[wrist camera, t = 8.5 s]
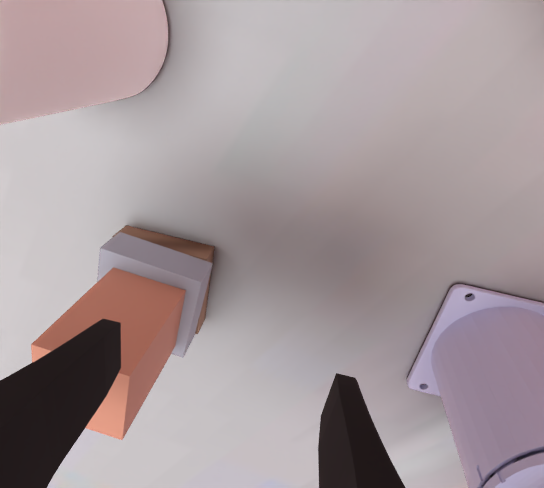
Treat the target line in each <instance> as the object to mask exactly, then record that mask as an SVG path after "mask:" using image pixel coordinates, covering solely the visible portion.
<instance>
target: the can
mask: <svg viewBox="0 0 544 488" xmlns="http://www.w3.org/2000/svg"><path fill="white" fill-rule="evenodd" d="M167 46H168V23H167V17H166V12H165V8H164V5H163V2H162V0H0V125H1V124H6V123H11V122H16V121H21V120H26V119H31V118H35V117H40V116H45V115H50V114H55V113H59V112H64V111H69V110H74V109H78V108H83V107H88V106H93V105H97V104H102V103H106V102H111V101H116V100H120V99H124V98H128V97H131V96H134V95H136V94H138V93H140V92H141V91H143V90H144V89H145V88H146V87H148V86H149V85H150V83H151V82H152V81H153V80H154V78H155V77H156V76H157V74H158V73H159V71H160V69H161V67H162V65H163V63H164V60H165V56H166V52H167Z"/></svg>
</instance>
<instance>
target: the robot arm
mask: <svg viewBox="0 0 544 488" xmlns="http://www.w3.org/2000/svg"><path fill="white" fill-rule="evenodd" d="M469 293H472V295H471V296H470V297H465V295H466V294H469ZM120 369H121V323H120V322H116V321H112V320H107V319H101V320H100V321H98V322H96V323H95V324H93V325H92V326H90V327H89V328H87V329H86V330H84V331H82V332H81V333H79V334H78V335H76V336H75V337H73V338H72V339H70V340H68V341H67V342H65V343H64V344H62V345H61V346H59V347H57V348H56V349H54V350H53V351H51V352H49V353H48V354H46V355H44V356H43V357H41V358H40V359H38V360H36V361H35V362H33V363H31V364H29V365H27V366H26V367H24V368H22V369H20V370H19V371H17V372H15V373H13V374H12V375H10V376H8V377H6V378H4V379H2V380H1V381H0V488H47V486H48V484H49V482H50V481H51V479H52V477H53V475H54V474H55V472H56V470H57V469H58V467H59V466H60V464H61V463H62V461H63V459H64V458H65V457H66V455H67V454H68V452H69V451H70V449H71V448H72V446H73V445H74V443H75V442H76V440H77V439H78V437H79V436H80V435H81V433H82V432H83V430H84V429H85V427H86V426H87V424H88V423H89V421H90V420H91V418H92V417H93V415H94V414H95V413H96V411H97V410H98V408H99V407H100V405H101V404H102V402H103V401H104V399H105V398H106V396H107V394H108V392H109V390H110V388H111V387H112V385H113V383H114V381H115V379H116V377H117V375H118V373H119V371H120ZM421 384H424V385H421ZM407 385H408V387H409V388H410V389H413V390H417V391H421V392H425V393H429V394H433V395H437V396H441V399H442V402H443V405H444V408H445V412H446V415H447V418H448V421H449V425H450V428H451V431H452V435H453V438H454V441H455V444H456V448H457V451H458V454H459V457H460V461H461V464H462V467H463V470H464V474H465V477H466V480H467V484H468V487H469V488H544V303H541V302H537V301H533V300H528V299H524V298H520V297H515V296H511V295H507V294H502V293H498V292H494V291H489V290H485V289H481V288H476V287H472V286H468V285H464V284H457V285H454V286H453V287H451V289H450V290H449V292H448V295H447V297H446V299H445V301H444V303H443V305H442V307H441V309H440V311H439V313H438V315H437V317H436V320H435V322H434V324H433V326H432V328H431V330H430V332H429V334H428V336H427V338H426V340H425V342H424V345H423V347H422V349H421V351H420V353H419V355H418V357H417V359H416V361H415V363H414V365H413V367H412V369H411V372H410V374H409V376H408V378H407ZM318 454H319V488H405V486H404V484H403V482H402V481H401V479H400V477H399V475H398V473H397V471H396V469H395V467H394V466H393V464H392V462H391V460H390V458H389V456H388V454H387V452H386V450H385V448H384V445H383V443H382V441H381V439H380V437H379V434H378V432H377V430H376V428H375V426H374V423H373V421H372V419H371V416H370V414H369V411H368V409H367V406H366V404H365V401H364V399H363V396H362V393H361V391H360V388H359V385H358V382H357V380H356V379H355V378H354V377H349V376H345V375H341V374H337V373H336V375H335V378H334V381H333V384H332V387H331V389H330V392H329V395H328V398H327V401H326V403H325V406H324V409H323V412H322V415H321V422H320V433H319V447H318Z"/></svg>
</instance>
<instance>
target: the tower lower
mask: <svg viewBox="0 0 544 488" xmlns="http://www.w3.org/2000/svg"><path fill="white" fill-rule="evenodd" d="M119 232H122V233H125V234H128V235H131V236H134V237H137V238H140V239H142V240H145V241H148V242H151V243H154V244H157V245H160V246H163V247H166V248H169V249H172V250H175V251H178V252H181V253H184V254H187V255H190V256H193V257H196V258H199V259H202V260H205V261H208V262H211V263H212V262H213V255H214V246H210V245H206V244H202V243H197V242H193V241H189V240H185V239H181V238H177V237H172V236H168V235H164V234H160V233H156V232H152V231H147V230H143V229H139V228H135V227H131V226H127V225H126V226H125V227H124V228H122V229H121V230H120V231H119ZM119 232H117V233H116V234H118V233H119ZM116 234H115V235H116ZM115 235H114V236H115ZM114 236H113V237H114ZM211 270H212V269H211ZM210 278H211V273H210V277H209V281H208V285H207V289H206V293H205V297H204V300H203V304H202V308H201V312H200V316H199V320H198V324H197V328H196V332H195V334H198V332H199V330H200V328H201V326H202V324H203V322H204V320H205V315H206V308H207V300H208V293H209V285H210Z"/></svg>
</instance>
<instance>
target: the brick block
mask: <svg viewBox="0 0 544 488" xmlns="http://www.w3.org/2000/svg"><path fill="white" fill-rule="evenodd" d="M185 293H186V290H183V289H180V288H177V287H173V286H170V285H167V284H164V283H161V282H158V281H155V280H152V279H148V278H145V277H142V276H139V275H136V274H133V273H130V272H126V271H123V270H120V269H117V268H114V267H113V268H112V269H111V270H110V271H109V272H108V273H107V274H106V275H105V276H104V277H103V278H101V279H100V280H99V281H98V282H97V283H96V284H95V285H94V286H93V287H92V288H91V289H90V290H89V291H88V292H87V293H85V294H84V295H83V296H82V297H81V298H80V299H79V300H78V301H77V302H76V303H75V304H74V305H73V306H72V307H71V308H70V309H68V310H67V311H66V312H65V313H64V314H63V315H62V316H61V317H60V318H59V319H58V320H57V321H56V322H55V323H54V324H52V325H51V326H50V327H49V328H48V329H47V330H46V331H45V332H44V333H43V334H42V335H41V336H40V337H39V338H38V339H37V340H35V341H34V342H33V343H32V344H31V349H32V363H33V362H35V361H36V360H38V359H40V358H41V357H43V356H44V355H46V354H48V353H49V352H51V351H53V350H54V349H56V348H57V347H59V346H61V345H62V344H64V343H65V342H67V341H68V340H70V339H72V338H73V337H75V336H76V335H78V334H79V333H81V332H82V331H84V330H86V329H87V328H89V327H90V326H92V325H93V324H95V323H96V322H98V321H100V320H101V319H107V320H112V321H116V322H120V323H121V369H120V371H119V373H118V375H117V377H116V379H115V381H114V383H113V385H112V387H111V388H110V390H109V392H108V394H107V396H106V398H105V399H104V401H103V402H102V404H101V405H100V407H99V408H98V410H97V411H96V413H95V414H94V415H93V417H92V418H91V420H90V421H89V423H88V424H87V426H86V427H85V428H87V429H90V430H93V431H96V432H99V433H102V434H105V435H108V436H111V437H114V438H117V439H121V440H122V439H123V438H124V436H125V434H126V432H127V431H128V429H129V427H130V425H131V424H132V422H133V420H134V418H135V416H136V415H137V413H138V411H139V409H140V408H141V406H142V404H143V402H144V401H145V399H146V397H147V395H148V394H149V392H150V390H151V388H152V386H153V385H154V383H155V381H156V379H157V378H158V376H159V374H160V372H161V371H162V369H163V367H164V365H165V363H166V362H167V360H168V358H169V356H170V355H171V353H172V351H173V349H174V348H175V346H176V340H177V335H178V330H179V324H180V319H181V314H182V309H183V303H184V298H185Z"/></svg>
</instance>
